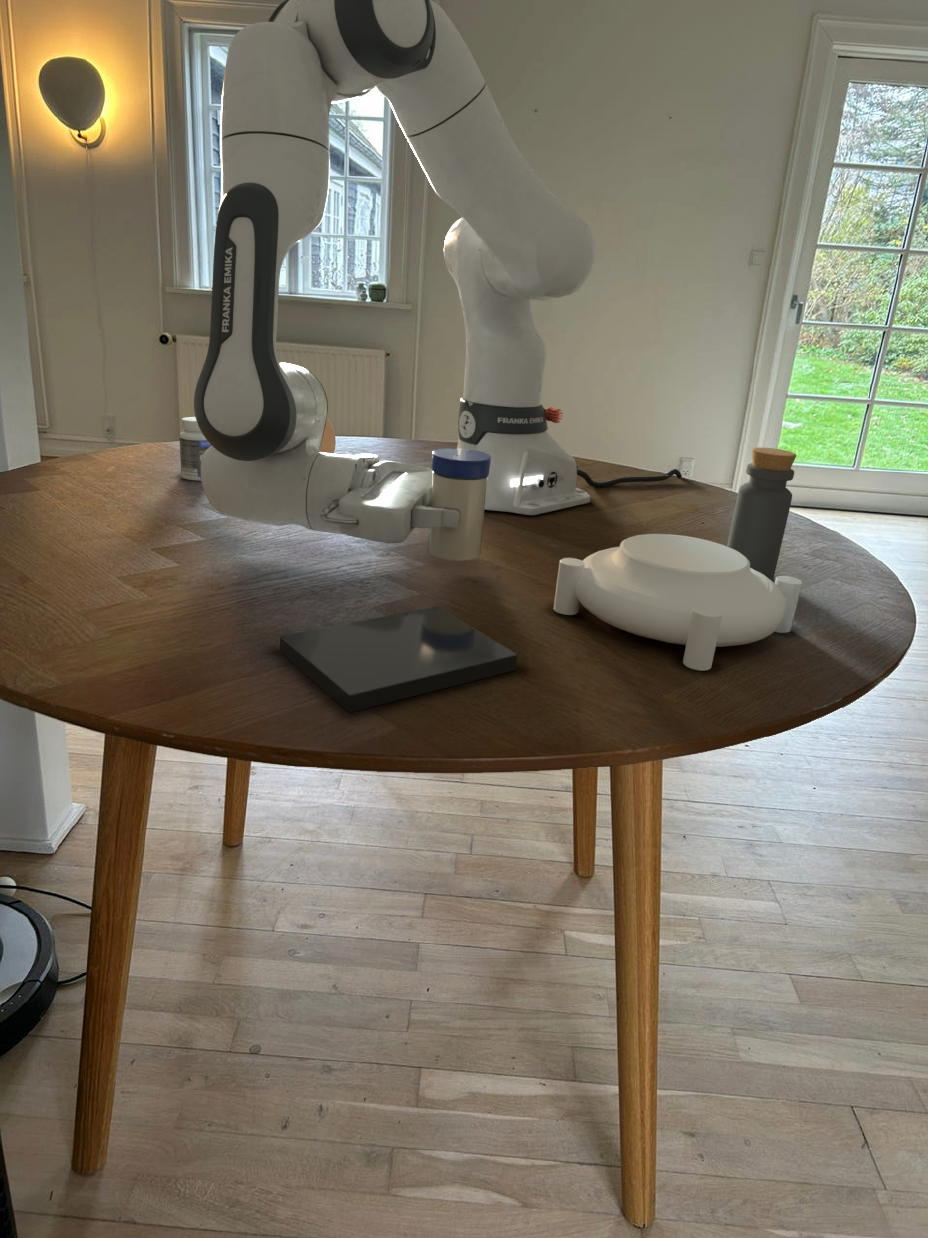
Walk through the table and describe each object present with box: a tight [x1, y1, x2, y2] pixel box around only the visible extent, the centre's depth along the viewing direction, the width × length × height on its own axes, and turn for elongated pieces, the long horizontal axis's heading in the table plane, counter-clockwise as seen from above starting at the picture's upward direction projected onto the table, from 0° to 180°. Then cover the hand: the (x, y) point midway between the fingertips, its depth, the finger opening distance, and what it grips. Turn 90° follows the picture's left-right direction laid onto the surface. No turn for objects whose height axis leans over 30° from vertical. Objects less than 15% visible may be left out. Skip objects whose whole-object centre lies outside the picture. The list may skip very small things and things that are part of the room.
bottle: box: [726, 447, 797, 582], centre depth 97 cm, size 6×6×15 cm
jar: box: [426, 472, 488, 562], centre depth 94 cm, size 6×6×11 cm
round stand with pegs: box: [553, 533, 803, 672], centre depth 84 cm, size 24×24×7 cm
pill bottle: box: [179, 416, 211, 482], centre depth 122 cm, size 5×5×8 cm
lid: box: [430, 447, 491, 479], centre depth 92 cm, size 6×6×2 cm
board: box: [279, 606, 518, 714], centre depth 71 cm, size 16×12×2 cm
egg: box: [319, 417, 336, 454], centre depth 134 cm, size 7×7×9 cm
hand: (465, 509), depth 94 cm, fingers closed on jar, 6 cm apart
